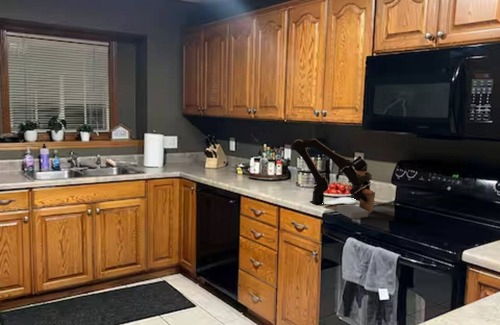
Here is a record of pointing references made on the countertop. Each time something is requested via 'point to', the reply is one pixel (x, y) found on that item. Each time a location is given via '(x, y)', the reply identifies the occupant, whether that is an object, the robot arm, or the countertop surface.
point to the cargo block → (368, 191)
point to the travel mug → (361, 172)
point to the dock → (352, 211)
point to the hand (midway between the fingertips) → (369, 199)
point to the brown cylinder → (368, 202)
